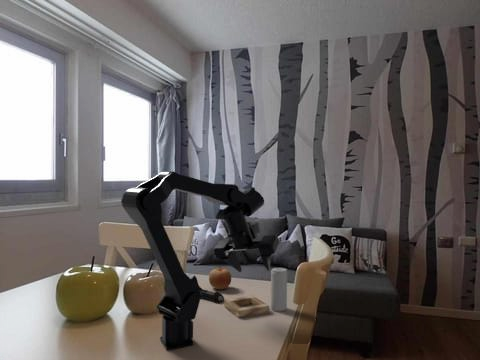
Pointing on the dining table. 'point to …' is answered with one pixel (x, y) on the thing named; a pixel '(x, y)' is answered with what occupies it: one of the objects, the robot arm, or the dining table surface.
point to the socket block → (246, 306)
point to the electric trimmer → (212, 296)
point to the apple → (220, 278)
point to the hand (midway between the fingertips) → (254, 270)
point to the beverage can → (279, 289)
